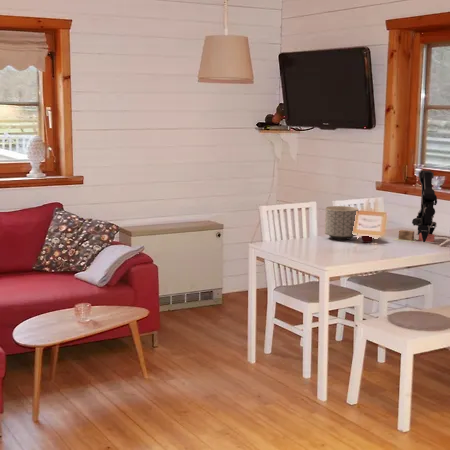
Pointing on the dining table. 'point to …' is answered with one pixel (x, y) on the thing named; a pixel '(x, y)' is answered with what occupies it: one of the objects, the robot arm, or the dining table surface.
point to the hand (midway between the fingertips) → (426, 240)
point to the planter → (340, 222)
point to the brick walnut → (406, 235)
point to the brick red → (429, 238)
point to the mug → (367, 239)
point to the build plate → (406, 240)
